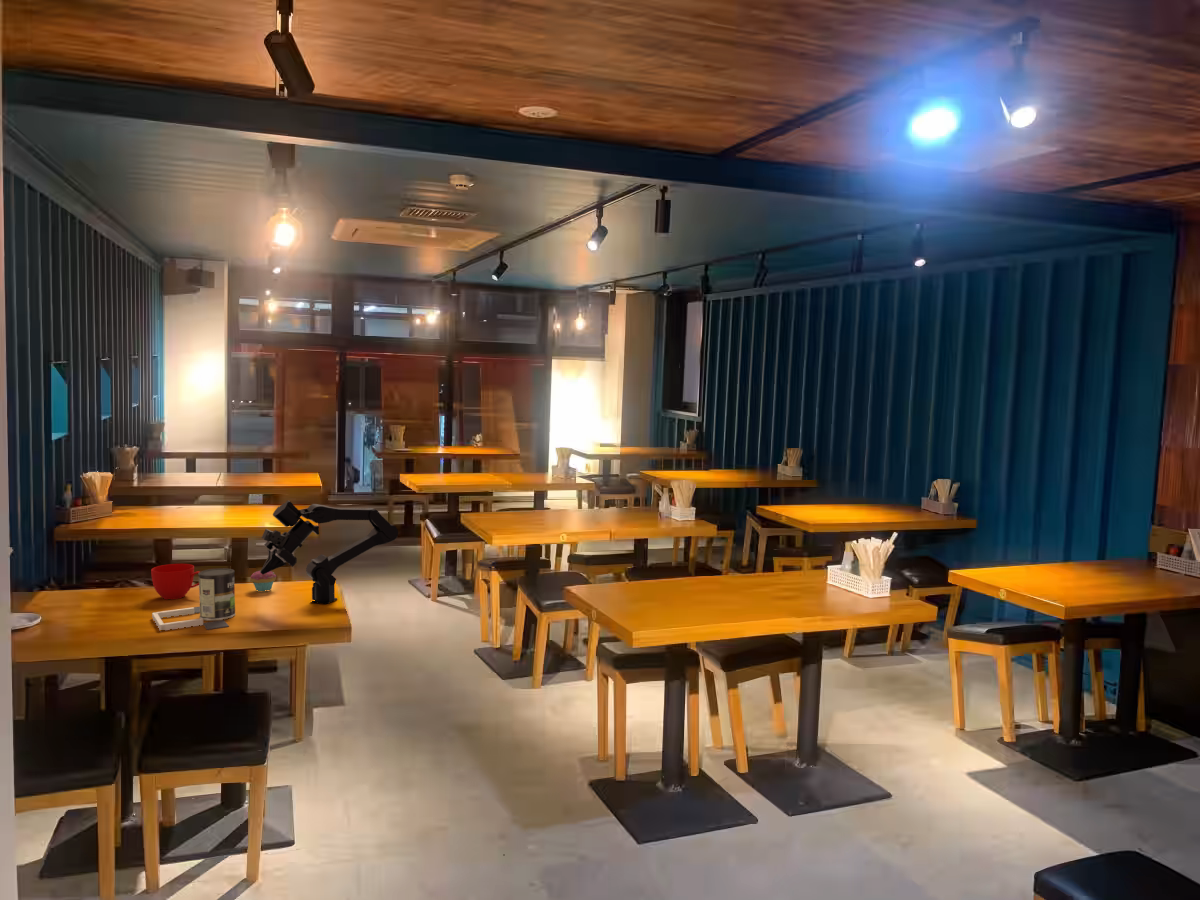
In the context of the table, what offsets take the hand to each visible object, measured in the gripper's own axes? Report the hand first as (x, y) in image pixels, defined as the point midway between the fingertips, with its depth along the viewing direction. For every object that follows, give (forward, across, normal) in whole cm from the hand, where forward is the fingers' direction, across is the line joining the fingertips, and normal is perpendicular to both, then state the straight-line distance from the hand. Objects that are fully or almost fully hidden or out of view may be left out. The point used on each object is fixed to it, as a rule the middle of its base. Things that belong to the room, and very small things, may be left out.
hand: (261, 573), depth 277 cm
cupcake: (+4, -25, +13) cm, 29 cm away
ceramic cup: (+22, -30, -5) cm, 38 cm away
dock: (+26, 0, -9) cm, 27 cm away
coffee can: (+18, 0, -1) cm, 18 cm away
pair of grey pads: (+20, 0, -3) cm, 20 cm away
